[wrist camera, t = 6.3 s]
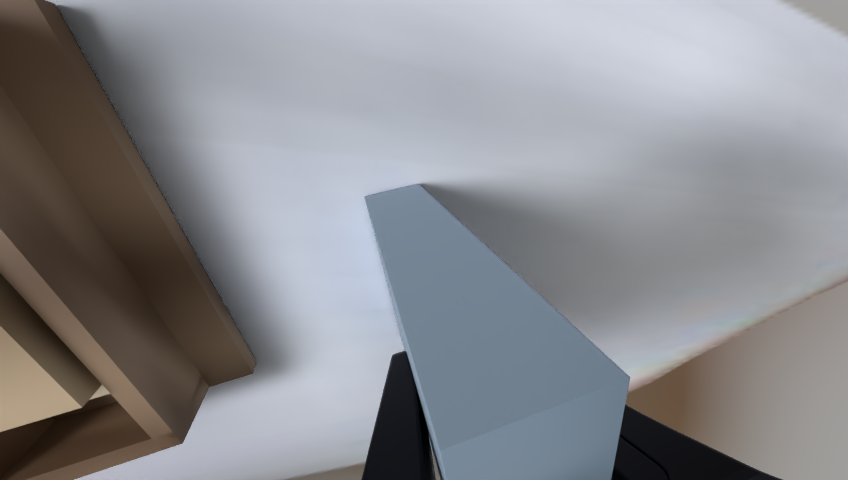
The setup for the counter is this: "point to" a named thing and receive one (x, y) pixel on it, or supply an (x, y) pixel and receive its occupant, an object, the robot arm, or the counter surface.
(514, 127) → the counter surface
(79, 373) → the offcut upper
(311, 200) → the counter surface
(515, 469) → the board
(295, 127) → the counter surface
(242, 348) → the rack
